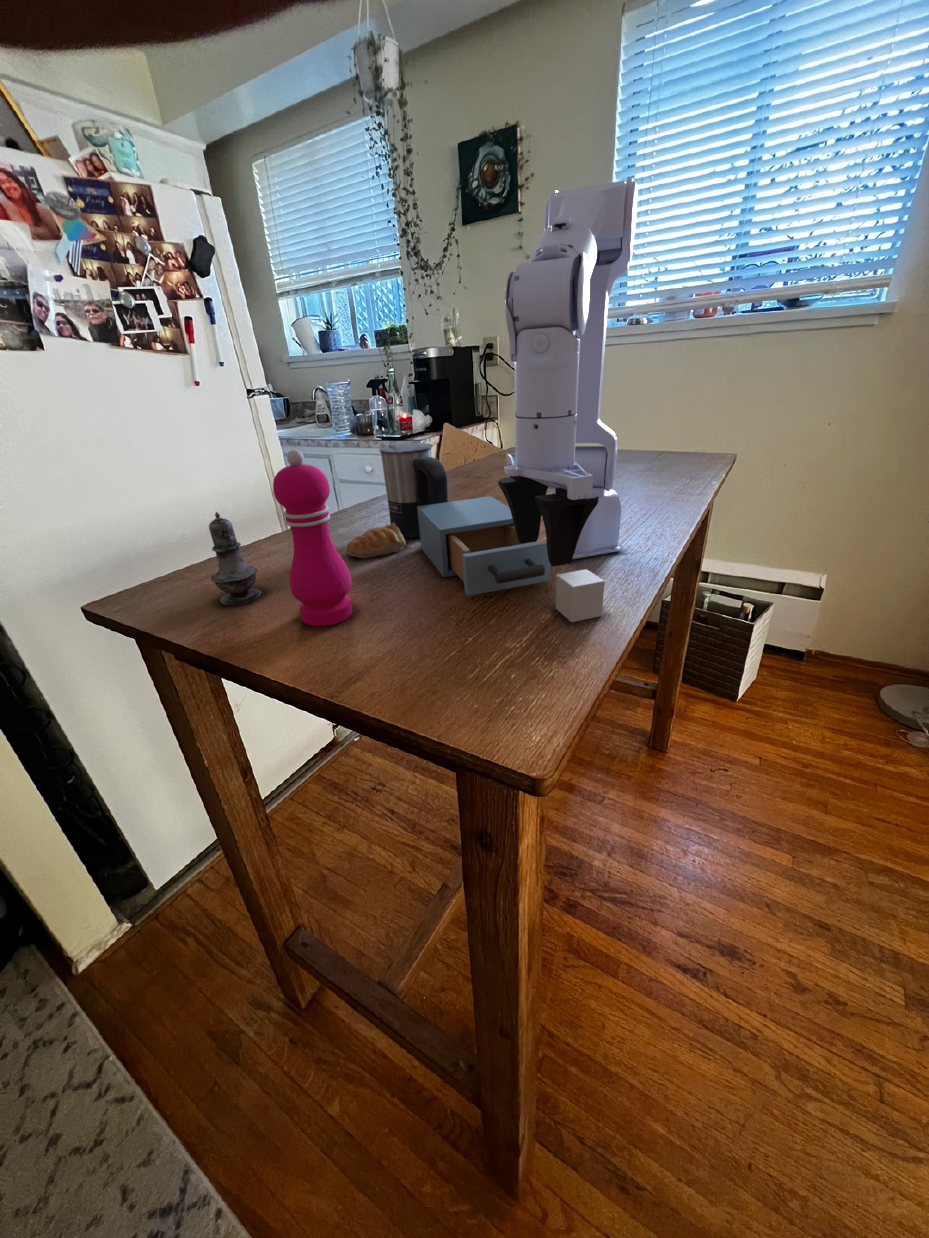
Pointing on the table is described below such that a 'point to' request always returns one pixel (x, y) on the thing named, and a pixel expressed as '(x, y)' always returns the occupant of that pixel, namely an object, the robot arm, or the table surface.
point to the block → (579, 595)
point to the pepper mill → (312, 544)
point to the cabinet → (456, 524)
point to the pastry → (377, 542)
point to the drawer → (496, 559)
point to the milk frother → (412, 483)
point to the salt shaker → (231, 565)
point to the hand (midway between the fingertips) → (543, 552)
